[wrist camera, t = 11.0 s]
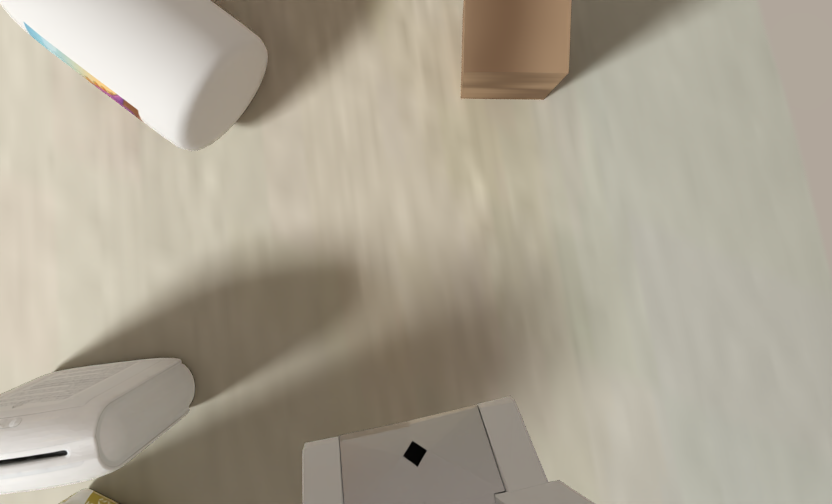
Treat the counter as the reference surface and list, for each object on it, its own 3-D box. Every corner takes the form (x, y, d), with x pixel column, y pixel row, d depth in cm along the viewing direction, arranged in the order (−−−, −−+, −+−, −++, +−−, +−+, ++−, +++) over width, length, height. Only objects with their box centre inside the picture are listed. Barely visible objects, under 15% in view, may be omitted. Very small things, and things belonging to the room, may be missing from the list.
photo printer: (49, 433, 45) (-102, 521, 33) (37, 369, 45) (-119, 434, 33) (202, 414, 45) (107, 497, 32) (191, 349, 44) (91, 407, 32)
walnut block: (546, 14, 42) (572, -36, 33) (543, 99, 42) (568, 72, 33) (462, 14, 42) (466, -36, 33) (460, 98, 42) (463, 71, 33)
